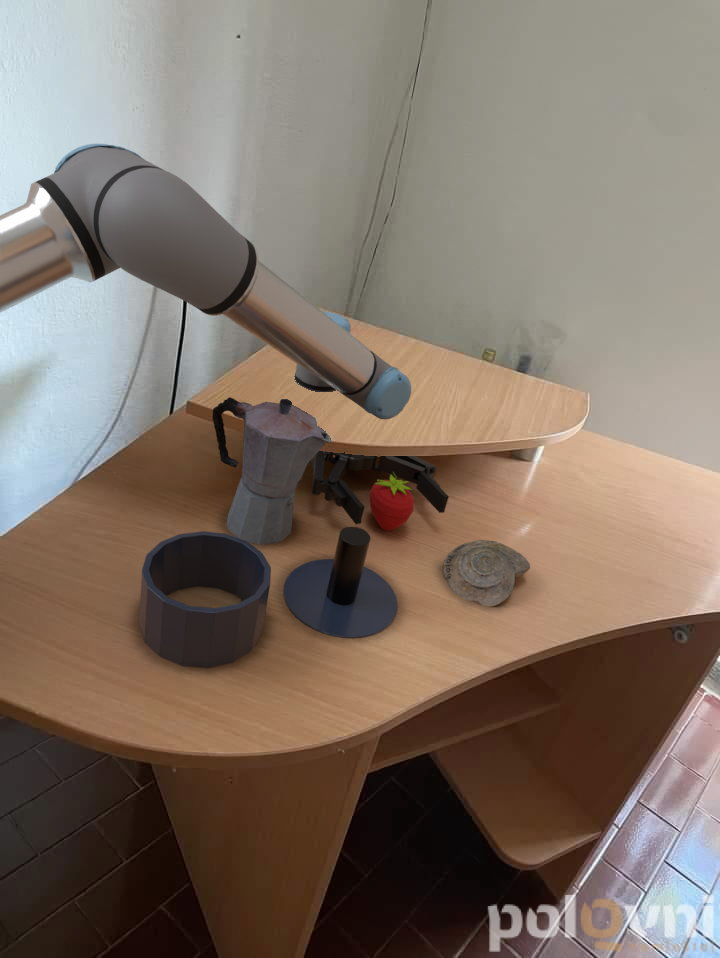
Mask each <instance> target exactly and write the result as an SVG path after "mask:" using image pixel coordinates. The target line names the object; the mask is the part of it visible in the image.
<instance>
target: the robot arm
mask: <svg viewBox="0 0 720 958" xmlns="http://www.w3.org/2000/svg"><path fill="white" fill-rule="evenodd" d="M119 269H122V270H123V271H124V272H126V273H127V274H129V275H131V276H133V277H135V278H137V279H138V280H140V281H143V282H145V283H147V284H149V285H151V286H153V287H155V288H157V289H160V290H161V291H163V292H166V293H167V294H170V295H171V296H174V297H176V298H178V299H180V300H182V301H184V302H185V303H187V304H189V305H191V306H193V307H194V308H196V309H197V310H199V312H202V313H203V314H205V315H208V316H211V317H213V316H221V315H222V316H223V317H225V318H227V319H228V320H230V321H231V322H233V323H234V324H236V325H238V326H239V327H240V328H242V329H244V331H247V333H249V334H251V335H253V336H254V337H256V338H257V339H259V340H260V341H261V342H263V343H265V344H266V345H268V346H269V347H271V348H272V349H273V350H275V351H277V352H278V353H280V354H281V355H283V356H284V357H286V358H287V359H289V360H290V361H292V362H293V363H295V364H296V366H295V367H296V368H295V372H294V375H295V376H294V375H293V376H294V377H295V379H294V380H296V381H295V382H296V383H297V384H298V383H299V384H298V385H300V386H302V387H304V388H306V389H308V390H311V391H315V392H333V391H336V390H337V391H338V392H339V393H340V394H341V395H343V396H344V397H346V398H347V399H349V400H350V401H351V402H353V403H354V404H356V405H357V406H358V407H360V408H362V409H363V410H364V411H365V412H367V414H370V415H373V416H374V417H376V418H377V419H380V420H390V419H393V418H395V417H396V416H398V415H399V414H401V412H403V411H404V409H405V407H406V406H407V404H408V403H409V401H410V400H411V399H410V398H411V395H412V383H411V380H410V378H409V377H408V376H407V375H405V374H404V373H403V372H402V371H400V369H398V368H397V367H396V366H392V365H391V364H389V363H388V362H386V361H385V360H384V359H383V358H381V357H380V356H379V355H378V354H376V353H375V352H374V351H372V350H371V349H370V348H369V347H368V346H366V345H365V344H364V343H363V342H361V341H360V340H359V339H358V338H357V337H355V336H354V335H352V333H351V329H352V325H351V323H350V321H349V320H348V318H346V317H344V316H343V315H340V314H337V313H334V312H330V311H323V310H321V309H320V308H319V307H318V306H316V305H315V304H314V303H313V302H311V301H310V300H309V299H307V298H306V297H305V296H304V295H302V294H301V293H300V291H297V290H296V289H295V288H294V287H293V286H292V285H290V284H289V283H288V282H286V281H285V280H284V279H283V278H281V277H280V276H279V275H277V274H276V272H274V271H273V270H272V269H270V268H269V267H268V266H266V265H265V264H264V263H263V262H261V261H260V260H259V253H258V250H257V248H256V246H255V245H254V244H253V243H252V242H251V241H250V240H249V239H247V238H246V237H245V236H244V235H242V234H241V233H240V232H239V231H238V230H237V229H236V228H235V227H234V226H233V225H232V224H231V223H229V221H228V220H227V219H225V218H224V217H223V216H222V215H221V214H220V213H219V212H218V211H217V210H216V209H215V208H214V207H213V206H211V204H210V203H209V202H208V200H206V199H205V198H203V196H202V195H201V194H199V192H198V191H196V190H195V189H194V188H193V187H192V186H191V185H189V183H188V182H186V181H185V180H183V179H181V178H180V177H179V176H178V175H175V174H173V173H172V172H170V171H168V170H165V169H164V168H161V167H160V166H158V165H156V164H153V163H152V162H150V161H148V160H146V159H145V158H144V157H142V156H141V155H139V154H138V153H136V152H135V151H132V150H130V149H127V148H125V147H123V146H117V145H113V144H108V143H89V144H84V145H81V146H78V147H76V148H74V149H72V150H71V151H69V152H68V153H66V154H65V155H64V156H63V157H62V158H61V160H60V161H59V162H58V163H57V165H56V166H55V170H54V172H53V173H52V174H50V175H46V176H45V177H42V178H40V179H39V180H36V181H34V182H32V183H30V186H29V191H28V195H27V199H26V202H25V203H24V204H22V205H19V206H17V207H15V208H14V209H11V210H9V211H6V212H5V213H1V214H0V314H1V313H3V312H5V311H6V310H9V309H10V308H13V307H14V306H16V305H18V304H20V303H22V302H24V301H26V300H28V299H31V298H32V297H34V296H36V295H38V294H40V293H42V292H44V291H46V290H48V289H50V288H53V287H54V286H56V285H59V284H60V283H62V282H64V281H66V280H68V279H70V278H74V279H77V280H81V281H84V282H88V283H93V282H95V281H97V280H99V279H101V278H103V277H105V276H107V275H110V274H111V273H113V272H115V271H117V270H119ZM377 459H378V456H364V455H352V454H345V452H344V453H333V452H326V451H318V453H317V454H316V455H315V456H314V457H313V458H312V459H311V460H310V461H309V462H310V464H311V465H312V468H313V469H312V480H311V484H312V485H311V494H312V495H314V496H319V495H320V494H321V493H323V494H324V500H325V501H328V502H331V501H333V502H334V504H335V505H336V506H338V507H341V508H343V510H344V512H345V513H346V514H347V515H348V516H349V518H350V519H351V521H352V522H353V523H354V524H355V525H360V524H362V520H363V515H364V511H365V505H364V504H363V502H361V500H360V499H359V498H358V496H357V495H356V494H355V493H354V492H353V490H352V489H351V488H350V487H349V485H348V484H347V483H346V482H345V480H342V479H343V478H344V477H345V475H346V474H347V472H348V471H349V470H351V471H353V472H358V471H362V470H363V471H364V470H365V471H372V472H375V473H377V474H381V473H382V472H383V473H386V474H388V475H392V476H393V477H395V475H396V477H395V478H399V479H400V480H404V481H409V482H408V483H412V484H415V485H416V488H415V489H416V490H417V491H418V492H419V493H420V494H421V495H422V496H423V497H424V498H425V499H426V500H427V501H428V502H429V504H431V505H432V507H433V508H434V509H435V510H436V511H437V512H438V513H439V514H443V513H445V511H446V507H447V504H448V501H449V498H450V496H449V495H448V494H447V493H446V492H445V490H443V489H442V488H441V485H440V484H439V483H438V481H437V480H435V476H436V472H437V469H438V466H436V465H434V464H432V463H430V462H428V461H426V460H424V459H422V458H420V457H418V456H416V455H415V456H380V455H379V461H378V464H376V463H377ZM325 462H328V463H330V464H332V465H334V467H333V469H332V471H331V472H330V474H329V476H328V477H327V479H325V478H324V472H325V471H324V469H325ZM393 472H394V473H393ZM394 474H395V475H394Z"/></svg>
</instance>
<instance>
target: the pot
mask: <svg viewBox="0 0 720 958" xmlns="http://www.w3.org/2000/svg"><path fill="white" fill-rule="evenodd" d="M271 574H272V566H271V565H270V563H269V562H268V559H267V558H266V556H265V555H264V553H263V552H262V551H261V550H259V549H258V548H256V547H255V546H254V545H252V543H251V542H247V541H245V540H242V539H239V538H237V537H236V536H235V535H234V536H233V535H230V534H228V533H223V532H216V531H205V530H202V531H201V530H199V531H192V532H184V533H178V534H175V535H174V536H171V537H169V538H167V539H164V540H162V541H160V542H158V543H157V544H156V545H155V546H154V547H153V548H152V549H151V550H150V551H149V552H148V553H147V554H146V555H145V558H144V561H143V565H142V568H141V578H140V579H141V580H140V601H139V602H140V603H139V623H138V624H139V625H138V626H139V629H140V633H141V634H142V639H143V642H144V644H146V645H147V647H149V648H150V649H151V651H153V652H154V653H155V654H156V655H157V656H158V657H160V658H161V659H163V660H166V661H169V662H171V663H173V664H176V665H179V666H181V667H190V668H202V669H203V668H204V669H210V668H214V667H219V666H223V665H228V664H232V663H234V662H237V661H238V660H239V659H240V658H243V657H244V656H246V655H248V654H249V653H251V652H253V650H254V648H255V647H256V645H257V644H258V642H259V641H260V640H261V638H262V636H263V630H264V624H265V617H266V612H267V606H268V599H269V593H270V587H271V578H272V577H271V576H272V575H271ZM197 587H198V588H199V587H200V588H210V589H219V590H220V591H223V592H226V593H229V594H232V595H234V596H236V597H237V598H238V599H240V600H241V601H240V602H238V603H236V604H229V605H224V606H217V607H205V606H193V605H188V604H185V603H183V602H181V601H179V600H175V599H173V598H170V597H169V595H171V594H173V593H175V592H177V591H181V590H185V589H192V588H197Z"/></svg>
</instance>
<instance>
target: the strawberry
mask: <svg viewBox="0 0 720 958" xmlns="http://www.w3.org/2000/svg"><path fill="white" fill-rule="evenodd" d="M393 473H394V472H393ZM394 475H395V474H394ZM394 475H391V474H389V479H376V481H377V482H374V484H373V485H372V486H371V489H370V491H369V506H370V510H371V512H372V515H373V517H374V519H375V521H376V523H377V524H378V526H379V528H381V529H382V530H383V531H386V532H390V531H393V530H396V529H398V528H399V527H401V526H402V525H404V524H405V523H406V522H407V521H408V520H409V518H410V517H411V515H412V514H413V512H414V508H415V507H414V506H415V505H414V504H415V500H414V496H413V494H412V493H411V492H410V491H413V489H412V488H410V487H409V486H406V485H405V484H408V483H410V482H409V481H407V480H404V481H403V479H397V477H396V475H395V476H394Z"/></svg>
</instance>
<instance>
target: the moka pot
mask: <svg viewBox="0 0 720 958" xmlns="http://www.w3.org/2000/svg"><path fill="white" fill-rule="evenodd" d="M225 412H230V413H232V415H233V416H234V417H236V418H238V419H240V420H243V425H244V427H243V428H244V429H243V447H242V465H241V471H242V472H241V477H240V480H239V483H238V485H237V488H236V491H235V494H234V497H233V500H232V503H231V505H230V507H229V511H228V513H227V517H226V518H227V519H226V529H227V530H228V531H229V532H230V533H231V534H233V535H234V537H236V538H239V539H242V540H245V541H247V542H248V543H250V544H255V545H259V546H260V545H263V546H264V545H269V544H277V543H281V542H282V541H284V540H285V539H286V538H288V537H289V536H290V535H291V533H292V528H293V527H292V526H293V515H294V504H295V493H296V492H295V490H296V488H297V487H298V482H300V481H301V480H302V478H303V475H304V473H305V470H306V468H307V466H308V464H309V462H310V460H311V459H312V458H313V457H314V456H315V455H316V454H317V453H318V451H319V450H320V449H321V448H322V447H323V446H324V445H325V444H326V443H330V442H331V438H330V436H329V435H328V434H327V433H326V431H324V430H323V429H322V428H320V427H319V426H317V421H316V418H315V417H313V416H312V415H310V414H308V413H307V412H305V411H303V410H301V409H300V408H298V407H296V406H294V405H292V402H291V401H290V400H288V399H282V398H281V399H280V400H279V402H271V401H264V402H261V403H258V404H255V405H253V404H250V403H248V402H245V401H242V402H241V401H238V400H236V399H235V398H234V397H227V399H224V400H223V402H220V403H219V404H217V405H216V406H215V407H213V408H212V421H213V428H214V430H215V436H216V442H217V444H218V447H217V448H218V451H219V458H220V461H221V463H223V464H225V465H228V466H230V467H233V468H237V466H238V465H239V464H240V463H239V461H238V460H237V459H234V458H231V457H230V456H229V450H228V448H227V439H226V431H225V427H224V426H225V424H224V419H223V413H225Z"/></svg>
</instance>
